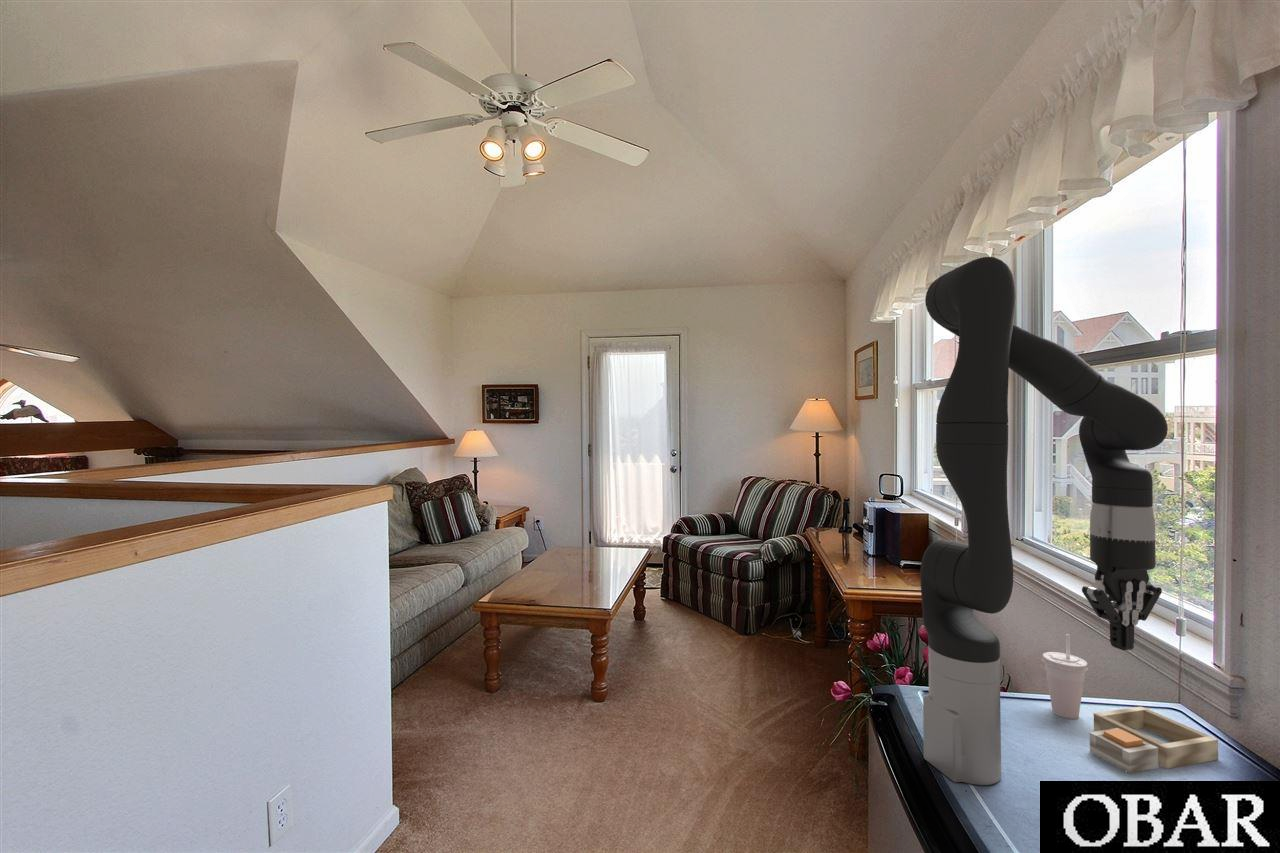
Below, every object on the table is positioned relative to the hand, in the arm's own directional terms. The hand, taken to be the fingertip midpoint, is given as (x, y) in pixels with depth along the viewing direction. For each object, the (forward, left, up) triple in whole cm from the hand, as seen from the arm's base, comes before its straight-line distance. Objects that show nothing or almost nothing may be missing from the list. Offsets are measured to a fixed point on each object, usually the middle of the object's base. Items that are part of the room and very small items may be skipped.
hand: (1122, 648), depth 83 cm
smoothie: (+5, +13, -17) cm, 22 cm away
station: (+6, +2, -17) cm, 18 cm away
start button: (0, 0, -16) cm, 16 cm away
